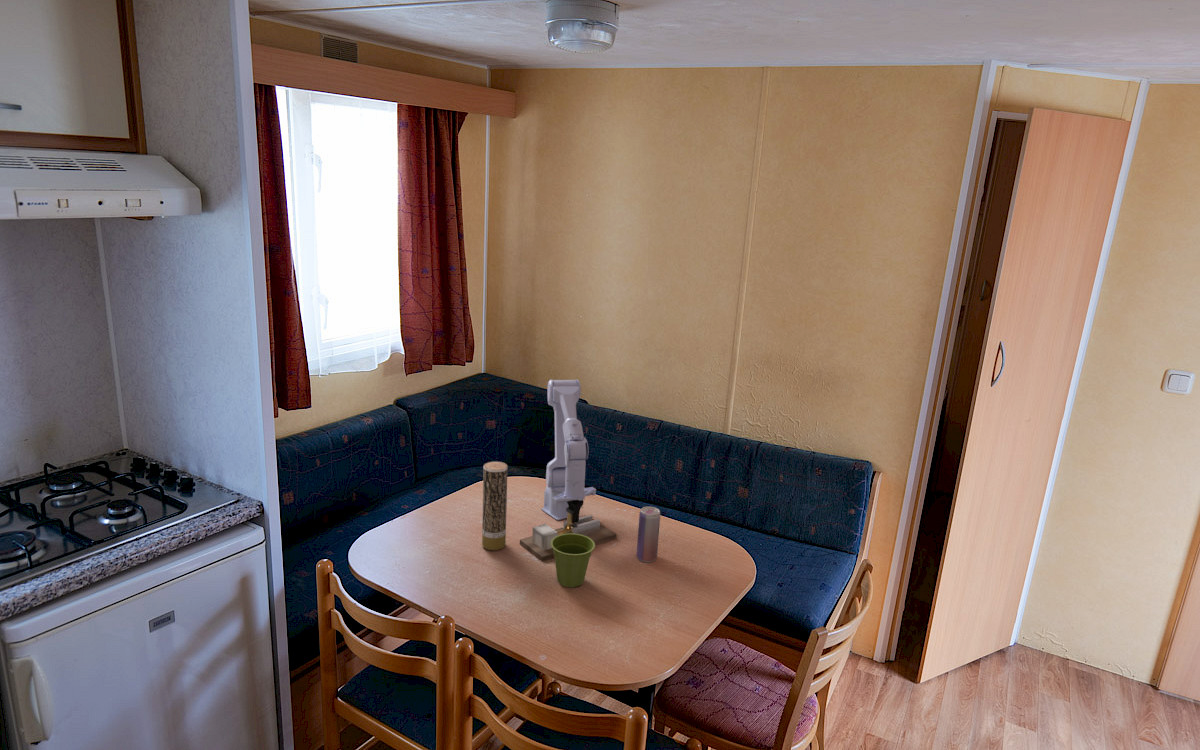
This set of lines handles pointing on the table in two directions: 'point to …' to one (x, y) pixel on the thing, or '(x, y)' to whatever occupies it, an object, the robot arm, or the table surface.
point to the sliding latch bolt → (569, 522)
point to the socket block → (543, 536)
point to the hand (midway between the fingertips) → (573, 521)
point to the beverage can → (648, 534)
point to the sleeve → (585, 526)
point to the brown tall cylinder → (494, 505)
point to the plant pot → (572, 558)
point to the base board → (548, 554)
